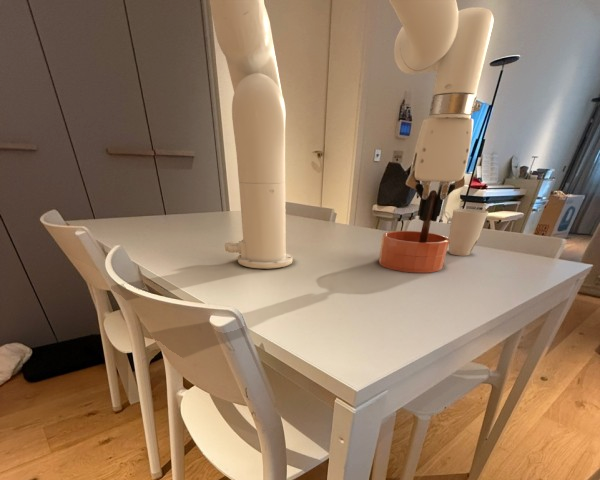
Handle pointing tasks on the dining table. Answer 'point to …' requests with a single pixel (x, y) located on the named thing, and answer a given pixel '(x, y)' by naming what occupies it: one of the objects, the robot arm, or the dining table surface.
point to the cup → (465, 230)
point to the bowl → (413, 251)
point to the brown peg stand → (428, 217)
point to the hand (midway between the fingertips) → (427, 219)
